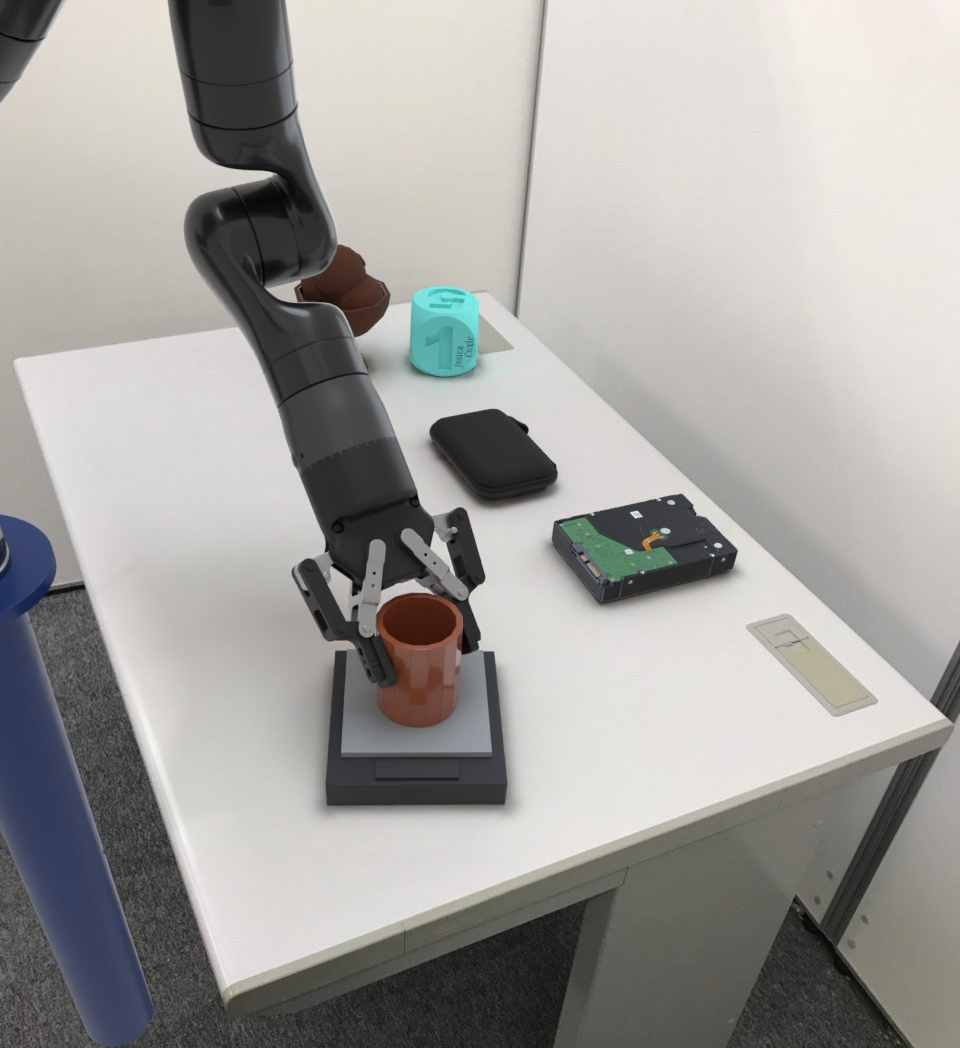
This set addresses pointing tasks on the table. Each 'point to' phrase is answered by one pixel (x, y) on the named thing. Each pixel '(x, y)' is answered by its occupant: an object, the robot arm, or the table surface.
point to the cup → (420, 658)
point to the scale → (415, 743)
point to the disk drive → (642, 547)
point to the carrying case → (493, 454)
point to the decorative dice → (444, 331)
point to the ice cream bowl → (348, 291)
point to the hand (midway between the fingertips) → (430, 668)
